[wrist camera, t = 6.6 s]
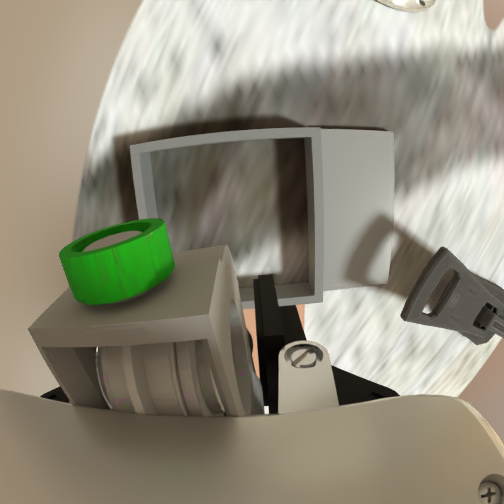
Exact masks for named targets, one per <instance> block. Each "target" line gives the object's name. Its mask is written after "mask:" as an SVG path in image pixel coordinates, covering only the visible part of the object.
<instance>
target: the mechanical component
mask: <svg viewBox="0 0 504 504" xmlns="http://www.w3.org/2000/svg"><path fill="white" fill-rule="evenodd" d="M59 257H60V260H61V263H62V266H63V269H64V271H65V274H66V277H67V280H68V283H69V285H70V287H69V288H68V289H67V290H66V291H65V292H64V293H63V294H62V295H61V296H60V297H59V298H58V299H57V300H56V301H55V302H54V303H53V304H52V305H51V306H50V307H49V308H48V309H47V310H46V311H45V312H44V313H43V314H42V315H41V316H40V317H39V318H38V319H37V320H36V321H35V322H34V323H33V324H32V325H31V326H30V327H29V328H28V330H29V332H30V334H31V336H32V337H33V339H34V342H35V343H36V345H37V347H38V349H39V351H40V353H41V354H42V356H43V358H44V360H45V362H46V363H47V365H48V367H49V369H50V370H51V372H52V373H53V375H54V377H55V378H56V380H57V382H58V383H59V385H60V386H61V388H62V389H63V391H64V393H65V394H66V396H67V397H68V398H69V400H70V401H71V403H72V404H73V405H76V406H85V407H92V408H100V409H107V410H111V408H110V407H109V406H108V404H107V402H106V400H105V398H104V396H103V394H102V391H101V388H100V385H99V381H98V375H97V369H96V348H97V347H98V355H97V364H98V373H99V379H100V382H101V386H102V389H103V391H104V394H105V396H106V398H107V400H108V401H109V403H110V404H111V405H112V407H113V409H114V411H123V412H132V413H137V414H145V415H173V416H231V417H239V416H247V415H264V414H265V413H264V402H263V391H262V384H261V382H260V379H259V378H258V376H257V375H256V372H255V367H254V362H253V357H252V353H253V339H252V336H251V334H250V332H249V331H248V329H247V328H246V323H245V318H244V313H243V308H242V303H241V298H240V293H239V283H238V279H237V277H236V273H235V268H234V264H233V260H232V256H231V253H230V250H229V248H228V246H227V245H221V246H215V247H209V248H202V249H196V250H190V251H184V252H178V253H172V250H171V246H170V242H169V238H168V233H167V229H166V225H165V221H163V220H162V219H157V218H149V219H140V220H134V221H130V222H125V223H121V224H117V225H114V226H111V227H107V228H104V229H101V230H99V231H96V232H93V233H91V234H88V235H86V236H84V237H81V238H79V239H77V240H75V241H74V242H72V243H70V244H69V245H67V246H66V247H64V248H63V249H62V250H61V251H60V253H59Z"/></svg>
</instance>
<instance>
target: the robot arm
mask: <svg viewBox="0 0 504 504" xmlns="http://www.w3.org/2000/svg"><path fill="white" fill-rule="evenodd" d="M377 1H379V2H380V3H383V4H385V5H387V6H389V7H392V8H395V9H398V10H401V11H407V12H420V11H424V10H426V9H428V8H430V7H431V6H432V5H434V4H435V2H436V0H377ZM258 277H259V279H254V280H253V285H254V303H255V320H256V336H257V349H258V362H259V374H260V382H261V384H262V391H263V402H264V406H269V414H264V415H247V416H239V417H231V416H173V415H145V414H137V413H132V412H123V411H114V409H113V407H112V405H111V404H110V403H109V401H108V400H107V398H106V396H105V394H104V391H103V389H102V386H101V382H100V379H99V373H98V364H97V355H98V352H96V369H97V375H98V381H99V385H100V388H101V391H102V394H103V396H104V398H105V400H106V402H107V404H108V406H109V407H110V408H111V410H107V409H100V408H92V407H85V406H76V405H73V404H72V403H71V401H70V400H69V398H68V397H67V396H66V394H65V393H64V391H63V389H62V388H61V386H60V387H58V388H56V389H54V390H51V391H49V392H47V393H45V394H43V395H42V396H41V397H37V396H32V395H28V394H24V393H19V392H15V391H9V390H3V389H0V504H504V445H503V443H502V441H501V440H500V438H499V437H498V435H497V434H496V433H495V431H494V430H493V429H492V427H491V426H490V424H489V423H488V422H487V421H486V420H485V419H484V418H483V416H482V415H481V414H480V413H479V412H478V410H477V408H476V407H475V406H474V405H473V404H472V403H470V402H468V401H464V400H461V399H458V398H456V397H451V396H445V395H426V394H419V395H405V396H400V395H399V394H398V393H397V392H396V391H394V390H392V389H390V388H387V387H385V386H382V385H379V384H377V383H374V382H372V381H369V380H366V379H364V378H361V377H359V376H356V375H354V374H351V373H349V372H346V371H344V370H341V369H339V368H337V367H334V366H332V365H331V363H330V358H329V354H328V352H327V349H326V348H325V347H323V346H322V345H320V344H318V343H316V342H312V341H307V340H306V337H305V334H304V330H303V327H302V323H301V320H300V317H299V313H298V310H297V307H296V305H288V306H279V304H278V299H277V294H276V289H275V285H274V280H273V275H272V274H271V275H258Z"/></svg>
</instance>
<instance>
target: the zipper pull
mask: <svg viewBox="0 0 504 504" xmlns="http://www.w3.org/2000/svg"><path fill="white" fill-rule="evenodd" d="M450 267H451V268H453V269H454V271H455V274H454V276H453V278H452V280H451V282H450V283H449V285H448V287H447V288H446V290H445V292H444V293H443V295H442V297H441V298H440V300H439V302H438V303H437V305H436V306H435V308H434V309H433V311H432V312H431V313H429V314H426V313H423V312H422V311H423V309H424V307H425V305H426V303H427V301H428V299H429V298H430V296H431V294H432V293H433V291H434V290H435V288H436V286H437V284H438V283H439V281H440V279H441V278H442V276H443V275H444V274H445V273H446V271H447V270H448V269H449V268H450ZM401 318H402V319H403V320H404V321H408V322H413V323H417V324H422V325H428V326H434V327H439V328H445V329H450V330H455V331H459V332H460V333H461V334H463V335H464V336H465V337H467V338H468V339H469V340H471V341H472V342H473V343H474V344H476V345H479V344H483V343H487V342H488V341H489V340H490V339H491V338H492V337H493V336H494V334H497V335H499V336H501V337H503V338H504V289H502V288H501V287H499V286H497V285H495V284H493V283H491V282H489V281H487V280H485V279H483V278H481V277H479V276H477V275H475V274H473V273H471V272H470V271H469V270H468V269H467V268H466V267H465V266H464V265H463V263H461V262H460V261H459V260H458V259H457V258H456V257H455V256H454V255H453V254H452V253H451V252H450V251H449V250H448V249H447V248H445V247H440V249H439V250H438V251H437V252H436V254H435V255H434V256H433V257H432V259H431V260H430V261H429V263H428V265H427V266H426V268H425V269H424V270H423V272H422V274H421V275H420V277H419V279H418V280H417V282H416V284H415V285H414V287H413V289H412V291H411V293H410V295H409V297H408V298H407V300H406V303H405V305H404V308H403V310H402V313H401Z"/></svg>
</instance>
